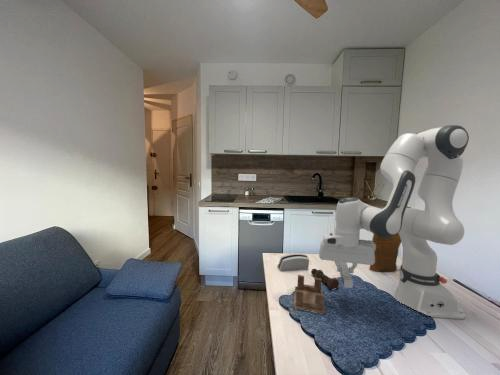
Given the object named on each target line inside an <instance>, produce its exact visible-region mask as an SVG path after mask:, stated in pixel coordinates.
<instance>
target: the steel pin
mask: <svg viewBox="0 0 500 375" xmlns="http://www.w3.org/2000/svg"><path fill="white" fill-rule="evenodd" d="M338 265H339V266H341V268H342V269H341V272H339V276H340V279H341V282H342V284H343V288H347V289H348V288H350V289H353V288H354V279H353V276H352V273H350V271H349V266H348V262H339V264H338Z"/></svg>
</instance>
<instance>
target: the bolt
mask: <svg viewBox="0 0 500 375" xmlns="http://www.w3.org/2000/svg"><path fill="white" fill-rule="evenodd" d="M310 273H311V274H312V275H313V276H314V279H315V278H321V280H322V281H321V282H324V284H325V285H327V287H328V288H330V289H334V288H337V289H338V288H339V285H340V283H339V280H338V279H337V278H336V277H332V278H330V277H329V276H328V275H327V274H324V271H323V270H321V269H316V268H312V269H311V271H310ZM330 289H329V290H330Z"/></svg>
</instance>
